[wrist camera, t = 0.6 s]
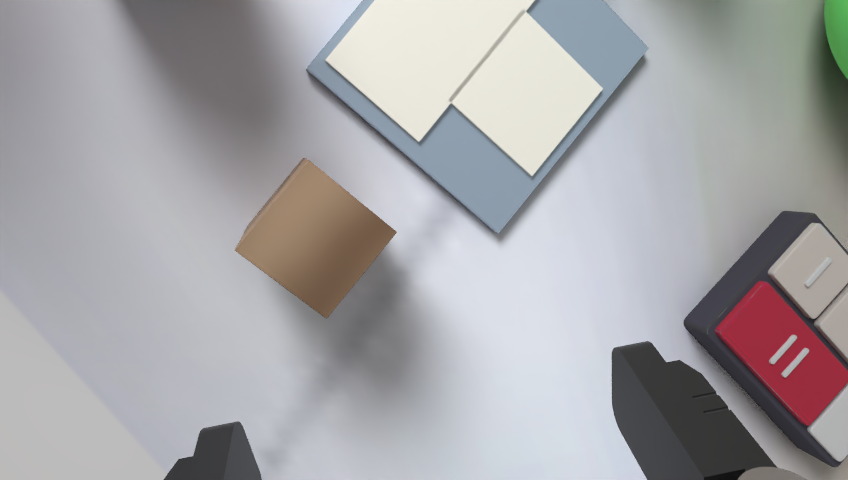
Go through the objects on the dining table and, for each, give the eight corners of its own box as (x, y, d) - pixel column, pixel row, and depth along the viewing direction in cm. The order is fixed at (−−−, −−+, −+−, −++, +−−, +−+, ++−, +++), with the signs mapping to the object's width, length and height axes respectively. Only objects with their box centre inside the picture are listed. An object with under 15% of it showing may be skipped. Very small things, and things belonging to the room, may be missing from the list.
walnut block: (248, 224, 37) (234, 250, 27) (303, 157, 37) (308, 160, 27) (316, 275, 38) (326, 318, 28) (369, 211, 38) (396, 232, 28)
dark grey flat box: (822, 210, 41) (948, 358, 44) (774, 207, 45) (892, 342, 48) (710, 334, 40) (845, 476, 43) (672, 319, 45) (797, 449, 48)
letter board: (306, 69, 36) (306, 67, 35) (470, -129, 36) (476, -138, 35) (494, 231, 40) (500, 234, 39) (641, 50, 40) (651, 47, 39)
